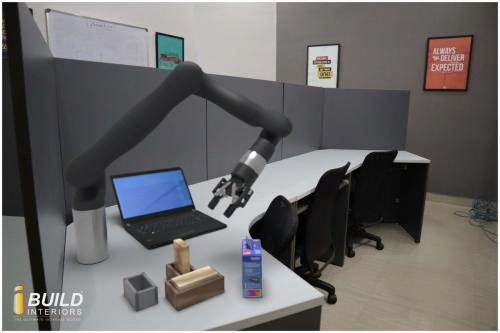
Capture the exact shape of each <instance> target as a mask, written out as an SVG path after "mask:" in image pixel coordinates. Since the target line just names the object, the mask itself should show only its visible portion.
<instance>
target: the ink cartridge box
mask: <svg viewBox="0 0 500 333" xmlns="http://www.w3.org/2000/svg"><path fill="white" fill-rule="evenodd" d="M262 250H263V249H262V244H261V239H259V238H255V239H254V238H249V237H248V236H247V235H245V238H244V239H241V279H242V280H241V281H242V283H241V284H242V297H243V298H263V296H264V295H263V294H264V293H263V292H264V291H263V288H264V287H263V283H264V280H263V251H262Z"/></svg>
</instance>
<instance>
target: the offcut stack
mask: <svg viewBox="0 0 500 333" xmlns="http://www.w3.org/2000/svg"><path fill="white" fill-rule="evenodd" d="M210 266H211V265H208V266H203V267H202V268H198V269H197V270H195V271H192V272H189V273H186V274H183V275H181V276H178V277H175V278H172V279H171V285H172V286H173V287H174V288H175V289H176V290H177V291H178V292H180V291H182V290H185V289H188V288H191V287H193V286H196V285H199V284H201V283H204V282H207V281H209V280H212V279H215V278H217V277H218V272H219V271H218V272H216V271H217V270H216V269H215V268H214V269H215V270H216V271H215V270H214V269H212V268H213V267H212V266H211V267H212V268H211V267H210Z"/></svg>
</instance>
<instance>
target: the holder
mask: <svg viewBox="0 0 500 333" xmlns="http://www.w3.org/2000/svg"><path fill="white" fill-rule="evenodd" d="M122 282H123V295H124V296H125V298H126V299H127V300H128V302H129V304H130V305H131V306H132V307H133V309H134V310H135V312H139V311H142V310H145V309H147V308H150V307H152V306H154V305H157V304H158V305H159V287H158V286H157V284H155V282H154V281H153V280H152V279H151V278H150V276H149V275H147V273H145V271H143V272H140V273H136V274H134V275H133V274H132V275H130V276H127V277H124V278H123V279H122Z"/></svg>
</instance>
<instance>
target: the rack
mask: <svg viewBox="0 0 500 333" xmlns="http://www.w3.org/2000/svg"><path fill="white" fill-rule="evenodd" d="M209 266H210V267H211V268H212V269H214V270H215V271H216V272H218V277H217V278H215V279H212V280H209V281H207V282H204V283H201V284H199V285H196V286H193V287H191V288H188V289H185V290H182V291H180V292H178V291H177V290H176V289H175V288H174V287H173V286H172V285H171V279H172V278H175V277H178V276H181V275H180V274H179V273H178V272H177V271H176V270H175V269H174V261H172V262H169V263H166V264H165V277H166V280H165V281H164V296H165V299H166V300H167V301H168V302H169V303H170V304H171V306H172V307H173V308H174V309H175V310H176V311H177V312H180V311H182V310H185V309H188V308H189V307H192V306H194V305H197V304H199V303H202V302H204V301H206V300H209V299H211V298H214V297H215V296H219V295H221V294H223V293H226V292H225V291H226V290H225V289H226V288H225V286H226V285H225V283H226V282H225V276H224V275H223V274H221V272H219V271H218V270H216V269H215V268H214V267H212V265H209ZM195 270H198V269H197V268H195V267H194V266H193V265H192V264H191V263H190V272H192V271H195Z"/></svg>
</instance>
